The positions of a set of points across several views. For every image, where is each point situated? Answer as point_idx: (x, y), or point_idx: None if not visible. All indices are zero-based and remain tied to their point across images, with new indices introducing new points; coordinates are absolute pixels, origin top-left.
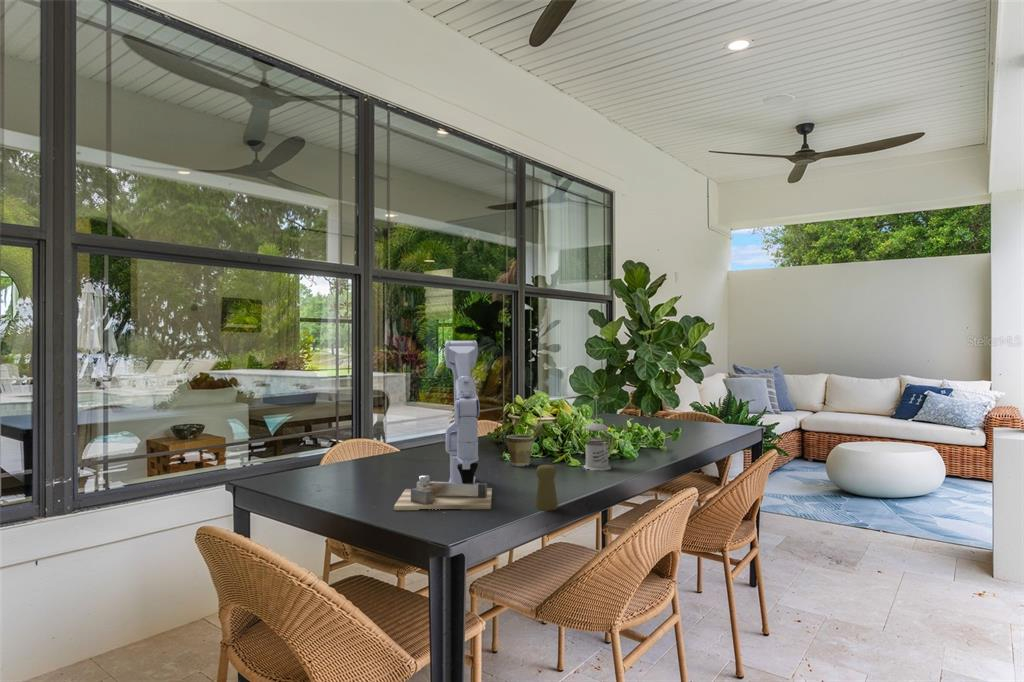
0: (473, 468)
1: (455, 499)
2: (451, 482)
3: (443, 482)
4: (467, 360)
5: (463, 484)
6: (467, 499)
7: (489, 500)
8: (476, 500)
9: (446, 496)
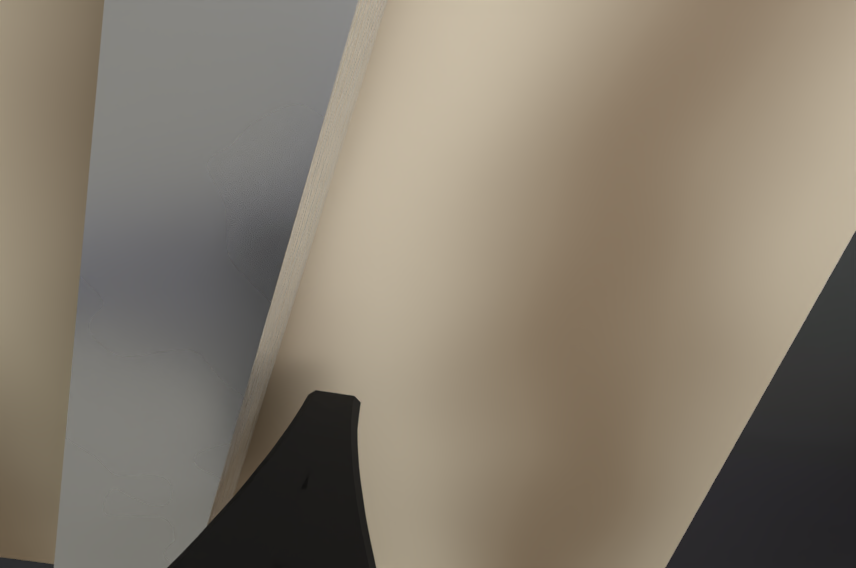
0: None
1: (29, 193)
2: (231, 273)
3: (245, 28)
4: None
5: (63, 481)
6: (53, 356)
7: (38, 550)
8: (16, 443)
9: None
